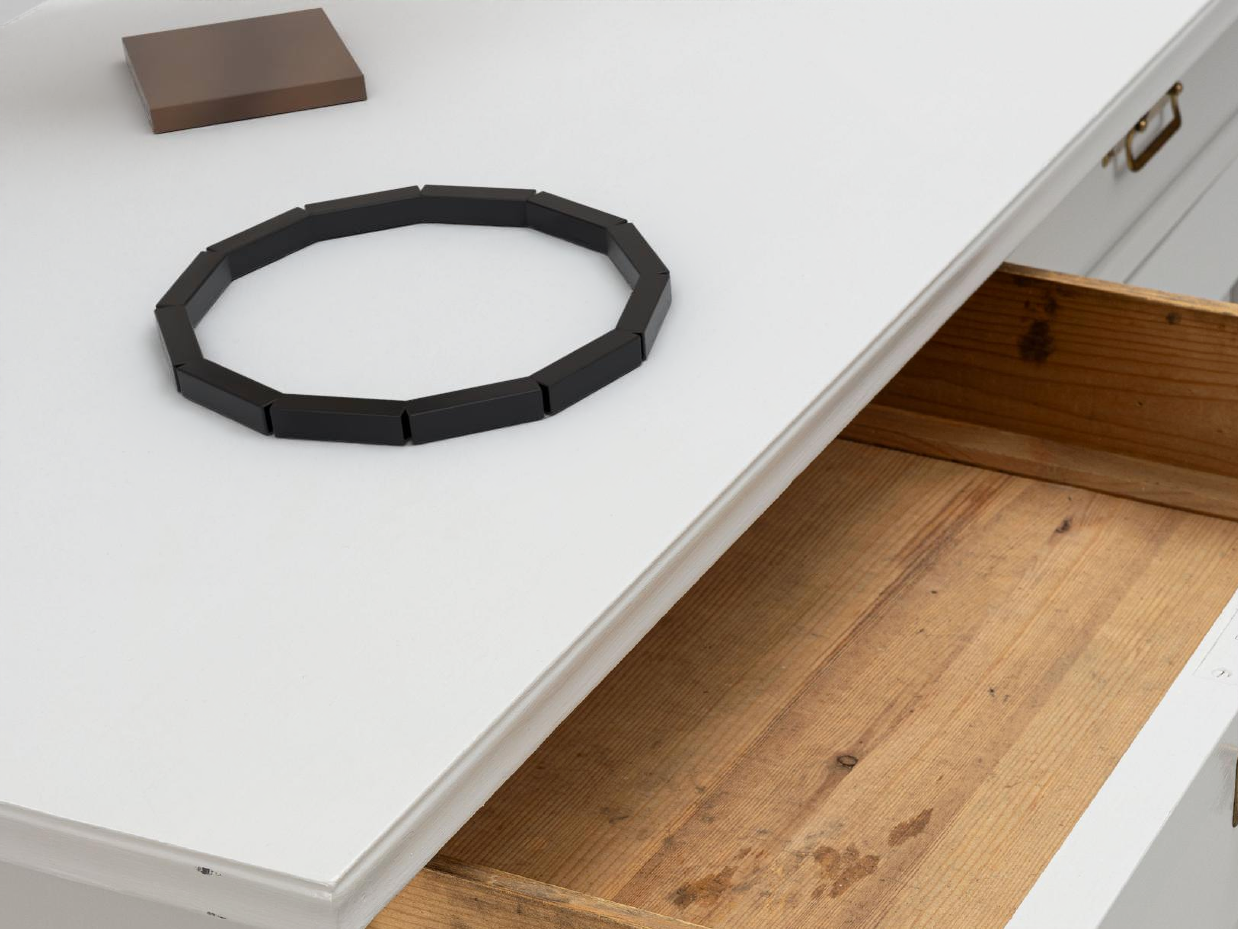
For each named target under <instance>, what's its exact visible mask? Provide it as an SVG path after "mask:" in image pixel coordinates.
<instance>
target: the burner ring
mask: <svg viewBox="0 0 1238 929" xmlns="http://www.w3.org/2000/svg"><path fill="white" fill-rule="evenodd" d="M423 222H424V223H440V224H442V223H443V224H466V225H481V226H482V225H483V226H484V225H485V226H503V227H504V226H506V227H507V226H508V227H527V228H528V227H529V228H531V229H534V230H537V231H540V232H542V233H546V234H548V235H551V236H554V237H556V238H560V239H562V240H565V241H568V242H571V243H574V244H577V245H579V246H582V247H585V248H587V249H591V250H594V251H595V252H599V253H602V254H605V255H607V256H608V257H609V258H610V260H611V261H612V262H613V264H614V265H615V266H616V268H617V269H618V271H619V272H620V273H621V275H622V276H623V277H624V279H625V281H627V283H628V284H629V286H630V287H631V289H632V291H631V293H630V295H629V298H628V300H627V302H626V304H625V305H624V308H623V310H622V313H621V315H620V317H619V319H618V321H617V323H616V325H615V327H614V328H613V329H611V330H610V331H608V332H606V333H604V334H602V335H600V336H599V337H597V338H595V339H593V340H591V341H589V342H587V343H586V344H584V345H583V346H582V345H581V346H580V347H579V348H577V349H575V350H573V351H572V352H569V353H568V354H566V355H564V356H562V357H560V358H558V359H557V360H555V361H553V362H551V363H549V364H548V365H546V366H544V367H543V368H540V369H539V370H537V371H535V372H534V373H532V374H530V375H528V376H522V377H518V378H517V377H516V378H513V379H507V380H502V381H498V382H492V383H487V384H482V385H478V386H471V387H468V388H462V389H457V390H451V391H447V392H442V393H437V394H432V395H427V396H422V397H416V398H412V399H406V400H403V399H402V400H400V399H386V398H371V397H370V398H367V397H352V396H351V397H350V396H337V395H336V396H335V395H333V396H332V395H317V394H304V393H303V394H302V393H286V392H282V391H280V390H277V389H275V388H272V387H270V386H269V385H267V384H264V383H262V382H259V381H257V380H255V379H253V378H250V377H249V376H246V375H244V374H242V373H240V372H237V371H234V370H233V369H230V368H228V367H226V366H223V365H221V364H220V363H216V362H215V361H213V360H210V359H208V358H206V357H205V356H204V354H203V351H202V349H201V348H202V347H201V345H200V343H199V340H198V337H197V335H196V332H195V327H196V326H197V324H198V323H199V322H200V321H201V319H202V318H203V317H204V316H205V314H206V313H207V312H208V311H209V310H210V308H211V307H212V306H213V305H214V303H215V302H216V301H217V299H218V298H219V297H220V296H221V294H222V293H223V292H224V290H225V289H226V288H227V287H228V286H229V284H231V282H232V281H233V280H235V279H237V278H240V277H241V276H244V275H246V274H248V273H251V272H252V271H255V270H257V269H259V268H261V267H263V266H265V265H267V264H270V263H272V262H274V261H277V260H278V259H280V258H283V257H285V256H287V255H289V254H291V253H294V252H296V251H298V250H300V249H301V248H304V247H307V246H309V245H311V244H313V243H316V242H317V241H322V240H328V239H333V238H339V237H345V236H351V235H357V234H362V233H368V232H373V231H379V230H384V229H390V228H397V227H401V226H406V225H407V226H408V225H412V224H419V223H423ZM670 272H671V271H670V269H669V268H668V267H667V265H666V264H665V263H664V262H663V260H662V259H661V258H660V257H659V255H658V254H657V252H656V251H655V250H654V249H653V248H652V246H651V245H650V244H649V242H648V241H647V239H645V237H644V236H643V235H642V233H641V232H640V231H639V229H638V228H637V227H636V225H635V224H634V222H629V221H628V219H626V218H624V217H621V216H618V215H615V214H612V213H610V212H606V211H602V210H601V209H598V208H594V207H592V206H590V205H589V206H588V205H585V204H582V203H580V202H577V201H574V200H572V199H568V198H566V197H563V196H560V195H556V194H554V193H551V192H548V191H544V190H541V191H538V192H537V189H535V188H517V187H516V188H515V187H513V188H512V187H493V186H491V187H489V186H471V185H470V186H469V185H445V184H424V185H423V187H422V188H420V187H419V185H417V184H415V185H409V186H404V187H399V188H392V189H386V190H381V191H375V192H370V193H364V194H358V195H353V196H352V195H351V196H347V197H340V198H334V199H330V200H324V201H318V202H311V203H306V204H304V206H303V208H302V207H299V206H295V207H293V208H291V209H289V210H286V211H284V212H282V213H280V214H278V215H276V216H274V217H271V218H269V219H266V220H264V221H262V222H260V223H257V224H256V225H253V226H251V227H249V228H246V229H244V230H242V231H240V232H237V233H236V234H233V235H230V236H228V237H227V238H224V239H222V240H219V241H218V242H216V243H213V244H210V245H208V246H206V247H205V250H201V251H200V252H199V253H198V254H197V255H195V257H194V259H193V260H192V261H191V262H190V263H189V264H188V266H187V267H186V268H185V269H184V271H183V272H182V273H181V274H180V275H179V277H178V278H177V279H176V280H175V282H174V283H172V285H171V286H170V287H169V288H168V290H167V291H166V292H165V293H164V294H163V296H162V297H161V298H160V299H159V301H157V302H156V304H155V309H153V314H154V319H155V323H156V328H157V332H158V336H159V340H160V342H161V345H162V349H163V352H164V354H165V355H164V356H165V358H166V360H167V364H168V367H169V370H170V372H171V376H172V379H173V382H174V384H175V388H176V391H177V392H178V393H181V395H182V396H183V397H184V398H187V399H189V400H190V401H192V402H195V403H197V404H199V405H201V406H203V407H206V408H208V409H210V410H212V411H215V412H216V413H219V414H221V415H222V416H225V417H227V418H230V419H232V420H234V421H236V422H238V423H239V424H243V425H245V426H247V427H249V428H251V429H253V430H255V431H257V432H260V433H261V434H264V435H271V434H272V433H273V434H274V437H275V438H285V439H299V440H300V439H301V440H316V441H317V440H318V441H333V442H345V443H346V442H348V443H364V444H379V445H395V446H405V445H406V443H407V441H408V440H409V439H410V441H411V443H412V444H413V445H419V444H424V443H429V442H433V441H438V440H443V439H447V438H453V437H458V436H463V435H468V434H472V433H478V432H482V431H486V430H487V431H488V430H492V429H496V428H502V427H506V426H512V425H516V424H522V423H527V422H531V421H536V420H542V419H544V418H545V414H548V415H550V416H554V415H555V414H557V413H559V412H561V411H562V410H564V409H566V408H568V407H570V406H571V405H573V404H575V403H577V402H578V401H580V400H582V399H583V398H585V397H586V396H589V395H591V394H592V393H594V392H595V391H597V390H599V389H601V388H603V387H604V386H606V385H608V384H609V383H612V382H613V381H615V380H616V379H618V378H620V377H622V376H624V375H625V374H627V373H629V372H630V371H632V370H634V369H636V368H638V367H639V366H641V365H642V364H643V361H645V360H647V358H648V356H649V353H650V351H651V349H652V347H653V344H654V343H655V340H656V337H657V335H658V333H659V331H660V328H661V326H662V324H663V323H664V319H665V317H666V315H667V313H668V311H669V308H670V305H671V304H672V300H673V298H672V297H673V296H672V282H671V281H672V280H671V273H670Z"/></svg>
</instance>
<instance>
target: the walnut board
mask: <svg viewBox="0 0 1238 929" xmlns="http://www.w3.org/2000/svg"><path fill="white" fill-rule="evenodd" d="M121 43H122V48H123V53H124V57H125V62H126V64H127V67H128V69H129V71H130V74H131V76H132V80H133V82H134V84H135V87H136V90H137V92H138V95H139V97H140V99H141V102H142V105H143V108H144V109H145V112H146V116H147V117H148V120H149V123H150V125H151V128H152V131H153V133H154V134H161V133H166V132H172V131H180V130H186V129H191V128H199V127H203V126H211V125H217V124H222V123H228V122H229V123H230V122H235V121H240V120H247V119H253V118H254V119H255V118H259V117H266V116H273V115H278V114H284V113H290V112H297V111H303V110H309V109H315V108H321V107H322V108H323V107H327V106H334V105H339V104H340V105H341V104H346V103H352V102H360V101H364V100H368V93H367V86H366V80H365V75H364V73H363V72H362V70H361V68H360V67H359V65H358V63H357V62H356V60H355V58H354V57H353V55H352V54H351V52H350V51H349V49H348V47H347V46H346V44H345V43H344V41H343V39H342V38H341V36H340V34H339V32H338V31H337V30H336V28H335V26H334V25H333V23H332V22H331V20H330V17H328V15H327V13H326V12H325V10H324V9H323V7H314V8H307V9H302V10H296V11H287V12H283V13H282V12H281V13H276V14H269V15H263V16H254V17H248V18H242V19H236V20H228V21H221V22H216V23H215V22H214V23H208V24H202V25H196V26H189V27H182V28H176V29H167V30H163V31H161V30H160V31H155V32H150V33H149V32H148V33H143V34H135V35H128V36H123V37H121Z"/></svg>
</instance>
